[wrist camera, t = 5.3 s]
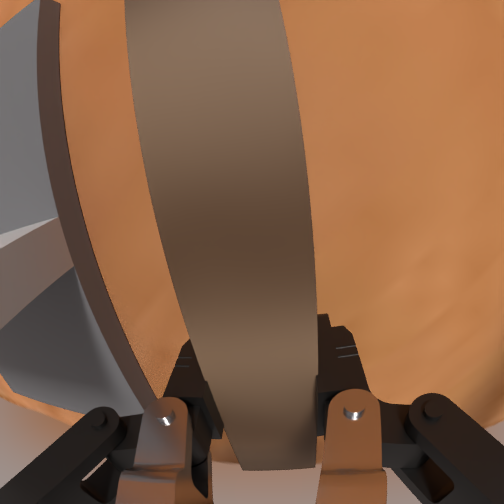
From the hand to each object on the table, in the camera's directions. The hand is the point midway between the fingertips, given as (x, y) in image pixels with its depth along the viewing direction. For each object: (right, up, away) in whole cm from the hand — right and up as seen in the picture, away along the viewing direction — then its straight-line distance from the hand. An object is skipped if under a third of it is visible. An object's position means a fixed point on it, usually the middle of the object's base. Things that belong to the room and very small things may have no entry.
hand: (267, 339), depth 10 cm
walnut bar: (-1, +5, -1) cm, 5 cm away
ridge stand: (-14, +3, +1) cm, 15 cm away
